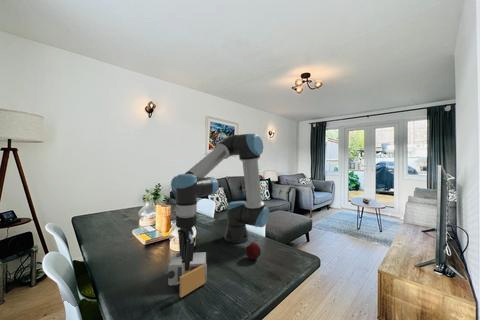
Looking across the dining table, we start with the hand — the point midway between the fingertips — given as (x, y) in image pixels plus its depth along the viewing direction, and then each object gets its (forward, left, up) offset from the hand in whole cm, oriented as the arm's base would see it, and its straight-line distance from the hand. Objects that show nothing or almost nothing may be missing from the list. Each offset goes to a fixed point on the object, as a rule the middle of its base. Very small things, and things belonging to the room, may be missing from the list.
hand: (185, 277), depth 77 cm
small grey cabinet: (0, -9, -5) cm, 10 cm away
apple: (-30, -22, -5) cm, 37 cm away
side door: (-3, +1, -4) cm, 5 cm away
